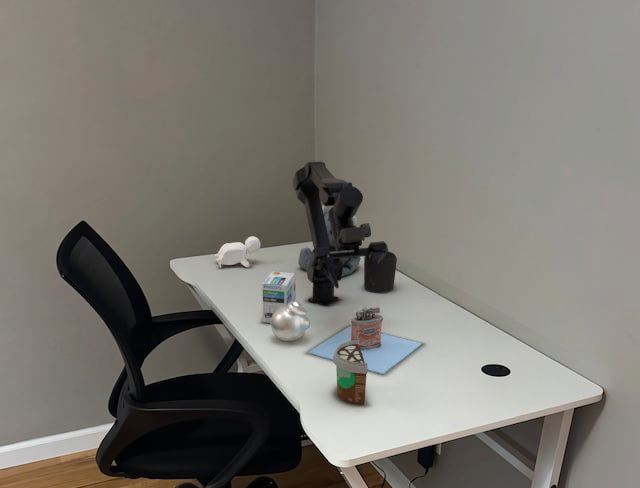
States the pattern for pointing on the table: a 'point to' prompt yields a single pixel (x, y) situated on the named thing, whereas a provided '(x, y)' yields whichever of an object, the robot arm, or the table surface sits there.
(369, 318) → the lighter
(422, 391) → the table surface
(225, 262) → the white turtle figurine
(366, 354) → the blue square mat
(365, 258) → the pen holder
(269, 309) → the light bulb box
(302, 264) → the koala plush
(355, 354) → the food container
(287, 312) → the silver rounded lump
